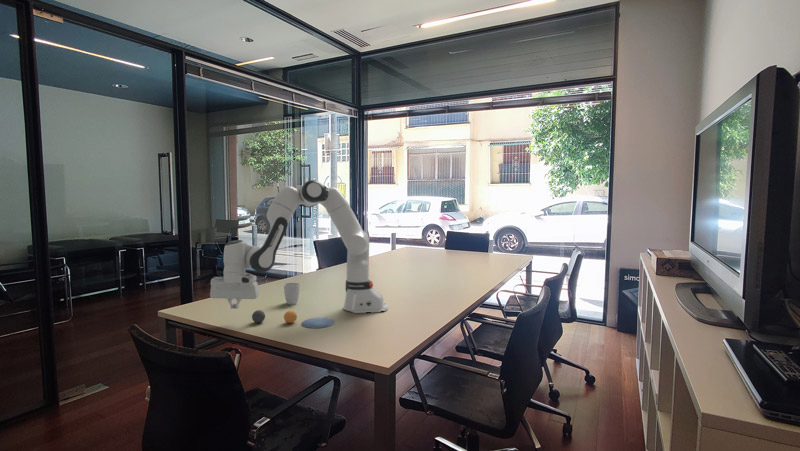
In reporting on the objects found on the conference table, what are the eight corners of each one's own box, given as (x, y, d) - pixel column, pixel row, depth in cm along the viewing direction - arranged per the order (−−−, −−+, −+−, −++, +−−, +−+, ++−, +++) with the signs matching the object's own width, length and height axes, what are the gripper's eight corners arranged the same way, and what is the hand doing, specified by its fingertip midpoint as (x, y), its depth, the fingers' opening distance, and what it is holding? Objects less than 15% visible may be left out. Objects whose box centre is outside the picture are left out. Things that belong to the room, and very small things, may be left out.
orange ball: (298, 320, 177) (298, 309, 176) (295, 324, 171) (295, 312, 171) (285, 320, 177) (285, 308, 176) (282, 324, 171) (282, 312, 171)
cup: (303, 302, 208) (302, 283, 208) (294, 306, 201) (294, 286, 200) (289, 300, 211) (289, 282, 210) (280, 304, 203) (280, 285, 203)
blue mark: (335, 318, 181) (335, 317, 181) (330, 328, 167) (330, 328, 167) (305, 318, 181) (305, 317, 181) (298, 328, 167) (297, 327, 167)
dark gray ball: (266, 320, 177) (266, 308, 176) (262, 324, 171) (262, 312, 171) (254, 320, 176) (254, 308, 176) (250, 324, 171) (249, 312, 171)
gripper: (207, 278, 169) (207, 309, 170) (255, 279, 169) (255, 310, 170) (213, 275, 175) (214, 305, 176) (260, 276, 176) (260, 306, 177)
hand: (234, 308), depth 173 cm, fingers closed
